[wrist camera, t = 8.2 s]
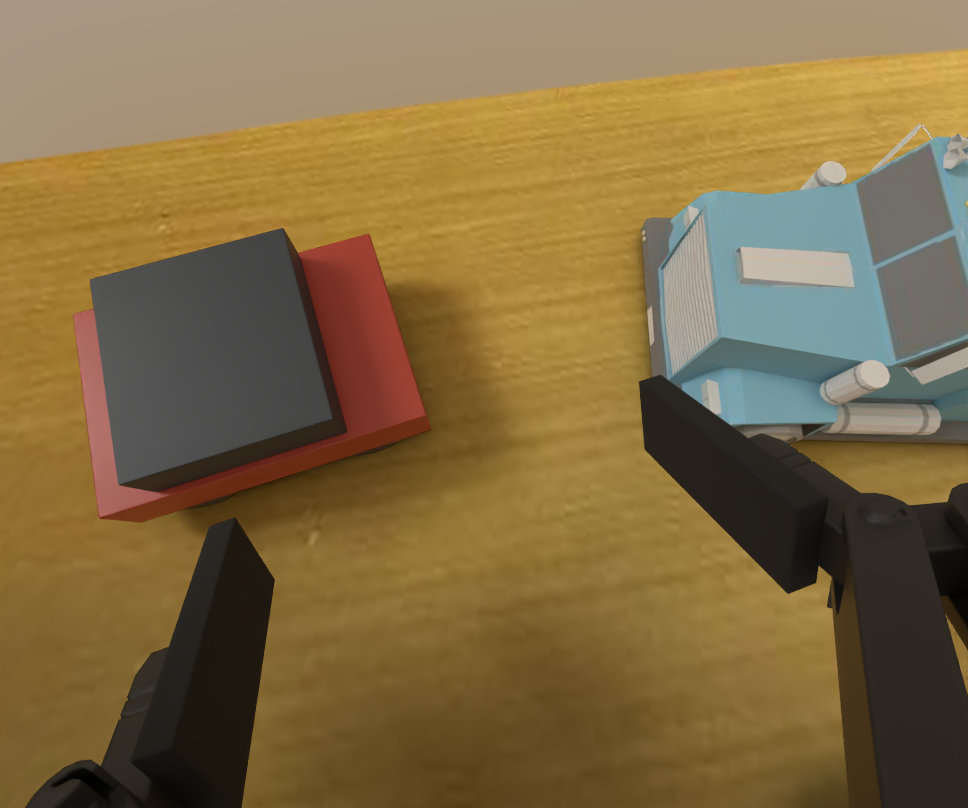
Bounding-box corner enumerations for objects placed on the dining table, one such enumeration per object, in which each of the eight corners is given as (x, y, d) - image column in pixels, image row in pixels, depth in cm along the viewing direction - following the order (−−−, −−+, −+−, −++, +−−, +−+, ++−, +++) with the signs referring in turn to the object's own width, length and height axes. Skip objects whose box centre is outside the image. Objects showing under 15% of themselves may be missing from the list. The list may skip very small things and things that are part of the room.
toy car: (52, 514, 17) (29, 288, 20) (157, 524, 23) (129, 348, 25) (421, 399, 19) (358, 200, 21) (433, 435, 24) (383, 276, 27)
